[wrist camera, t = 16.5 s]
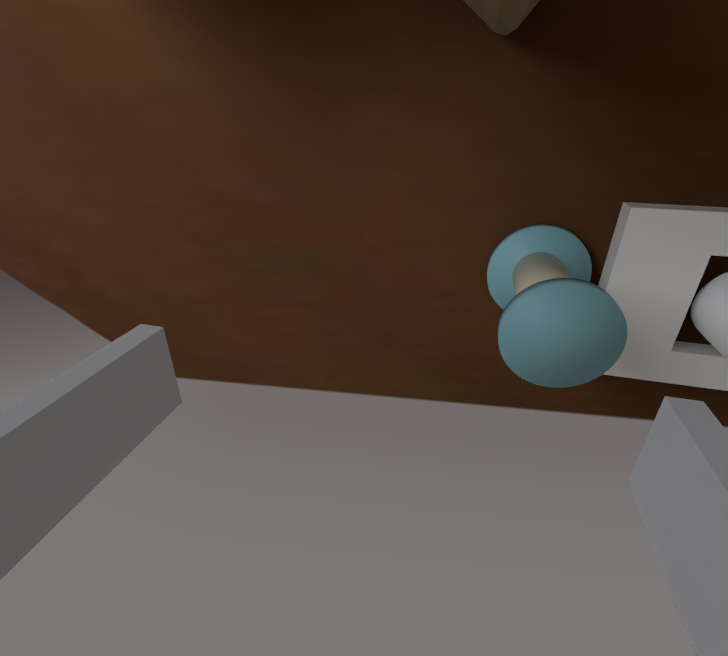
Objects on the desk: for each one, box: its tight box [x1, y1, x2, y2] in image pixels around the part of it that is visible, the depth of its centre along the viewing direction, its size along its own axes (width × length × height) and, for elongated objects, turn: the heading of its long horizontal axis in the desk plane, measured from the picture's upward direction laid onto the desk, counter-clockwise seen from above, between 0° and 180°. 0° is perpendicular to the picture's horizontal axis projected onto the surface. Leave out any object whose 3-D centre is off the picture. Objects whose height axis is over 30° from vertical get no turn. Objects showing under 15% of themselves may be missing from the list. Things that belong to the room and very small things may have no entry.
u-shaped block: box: [598, 202, 728, 391], centre depth 32 cm, size 14×14×2 cm
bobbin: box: [487, 224, 628, 388], centre depth 30 cm, size 8×8×12 cm
